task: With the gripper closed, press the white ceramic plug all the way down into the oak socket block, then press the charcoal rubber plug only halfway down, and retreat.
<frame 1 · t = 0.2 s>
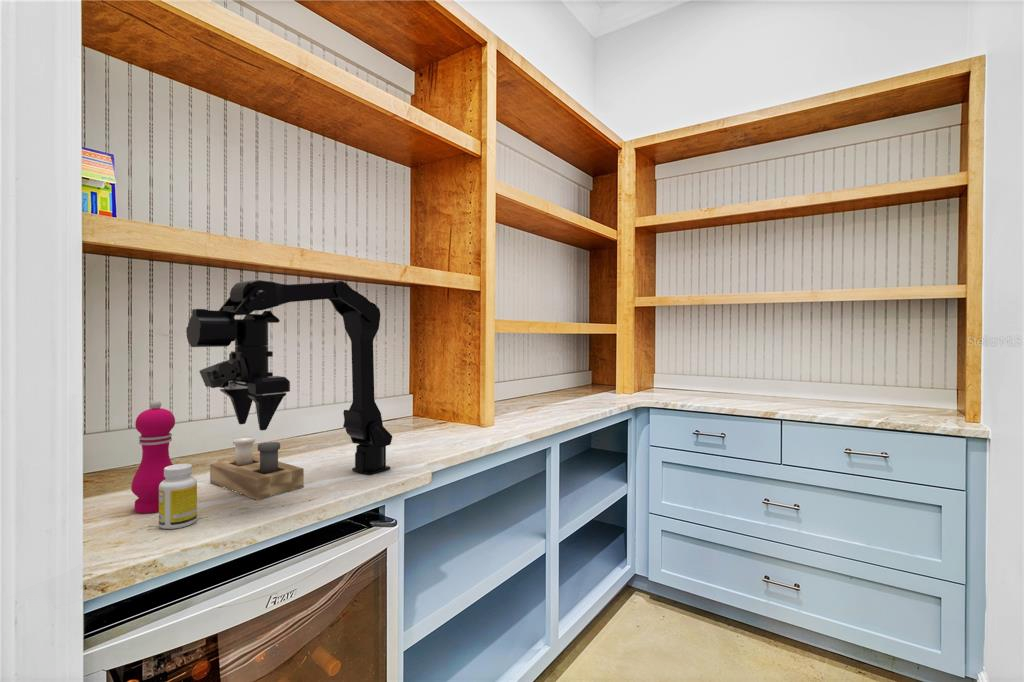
hand: (252, 427, 96), 14 cm above the countertop, tool pointing down, fingers open, 9 cm apart
pepper mill: (155, 508, 92), on the countertop
supplement bottle: (178, 524, 85), on the countertop
white plug: (244, 451, 109), point 6 cm above the countertop, slide at 0.0 cm
charcoal plug: (269, 458, 103), point 6 cm above the countertop, slide at 0.0 cm
oak socket block: (256, 484, 106), on the countertop
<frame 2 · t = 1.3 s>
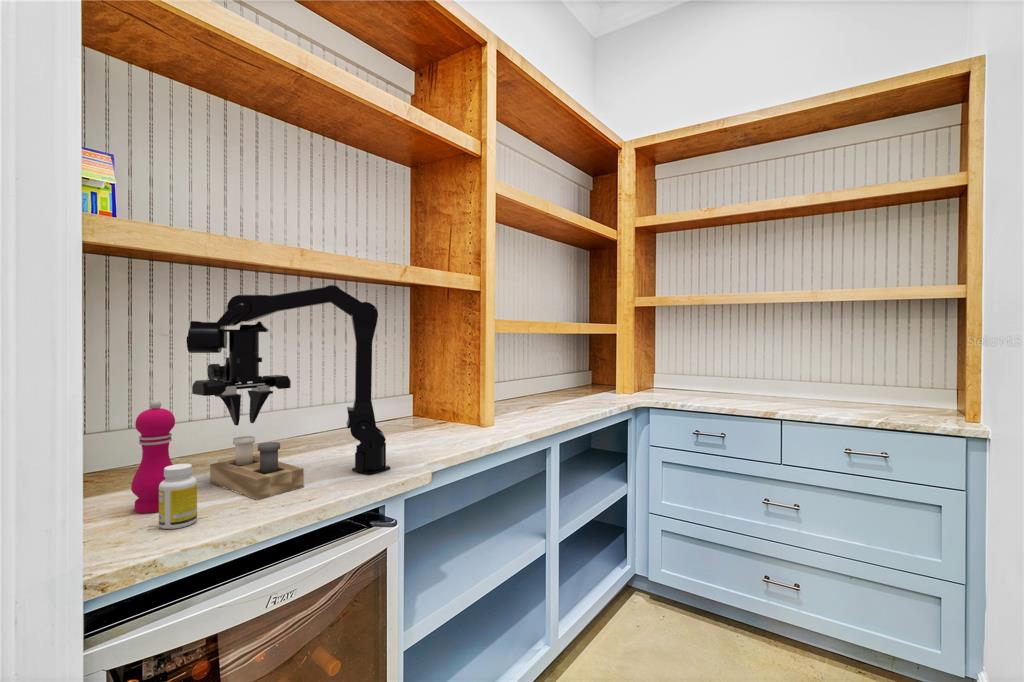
hand: (244, 424, 109), 13 cm above the countertop, tool pointing down, fingers open, 3 cm apart
nothing on the countertop moved.
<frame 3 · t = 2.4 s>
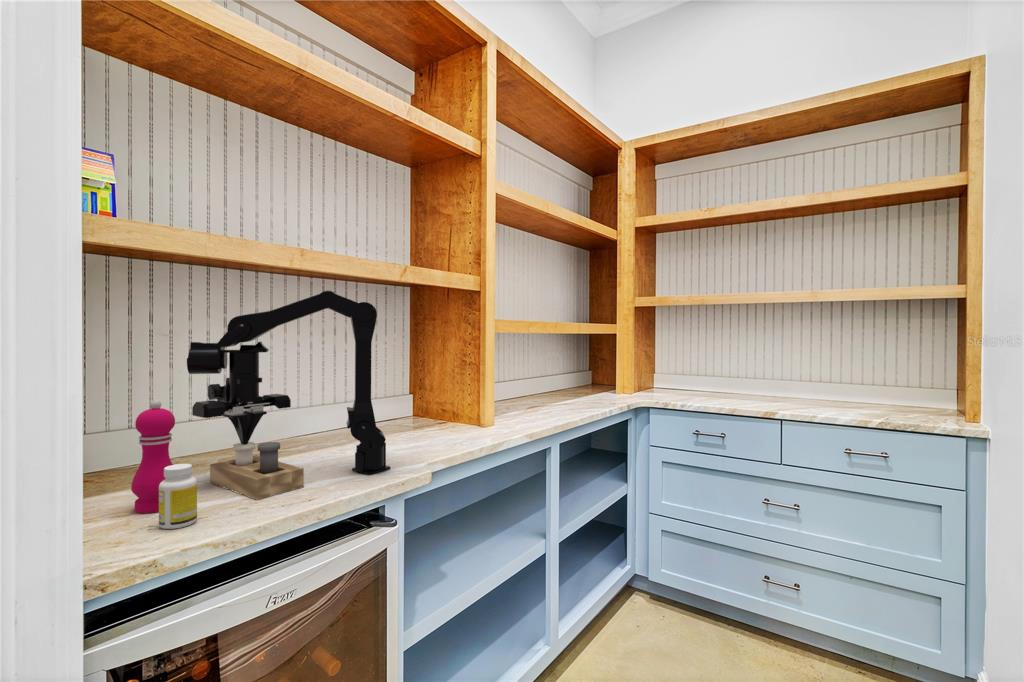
hand: (244, 444, 109), 8 cm above the countertop, tool pointing down, fingers closed, pressing on white plug
white plug: (244, 457, 109), point 5 cm above the countertop, slide at 1.3 cm, touching gripper
everything else where it was.
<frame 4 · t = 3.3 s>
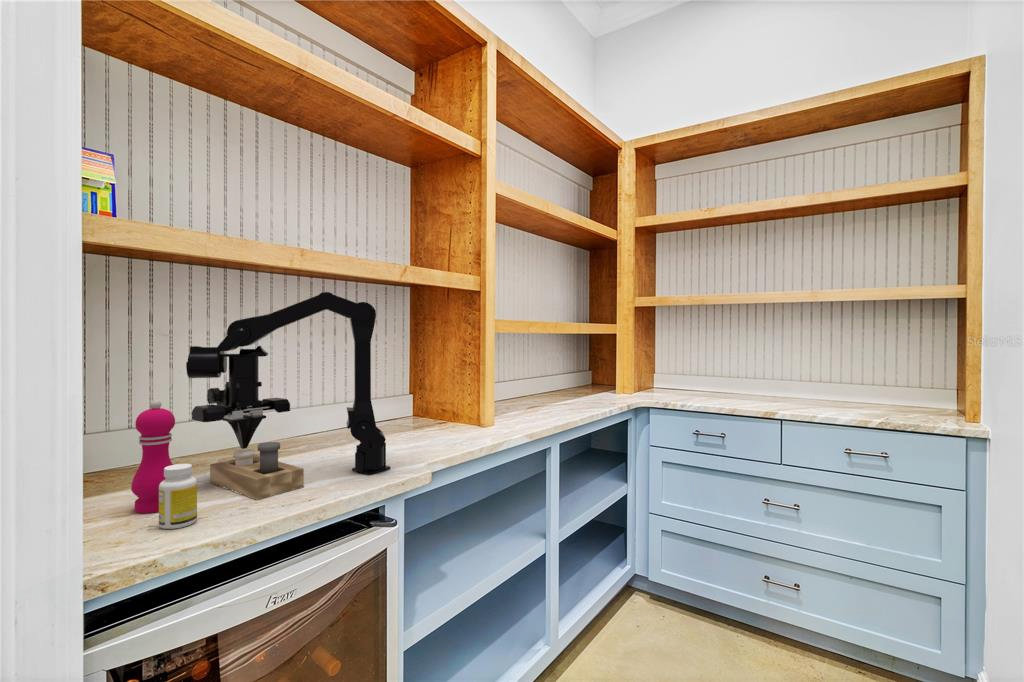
hand: (243, 448, 109), 7 cm above the countertop, tool pointing down, fingers closed
white plug: (244, 464, 109), point 4 cm above the countertop, slide at 2.9 cm
everything else where it was.
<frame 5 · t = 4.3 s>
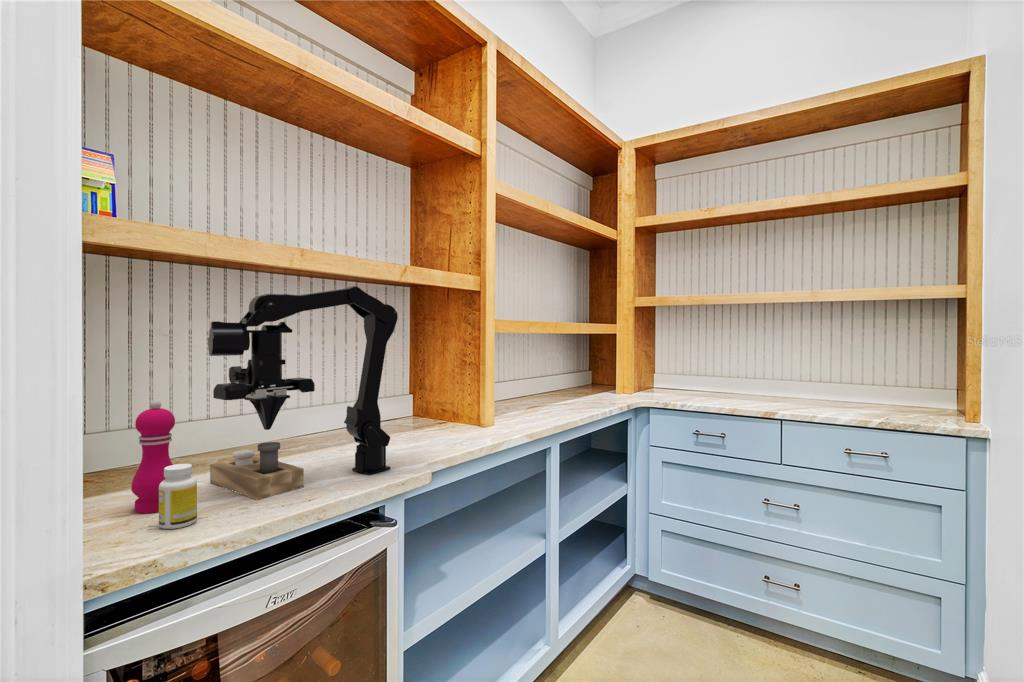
hand: (267, 429, 104), 12 cm above the countertop, tool pointing down, fingers closed
nothing on the countertop moved.
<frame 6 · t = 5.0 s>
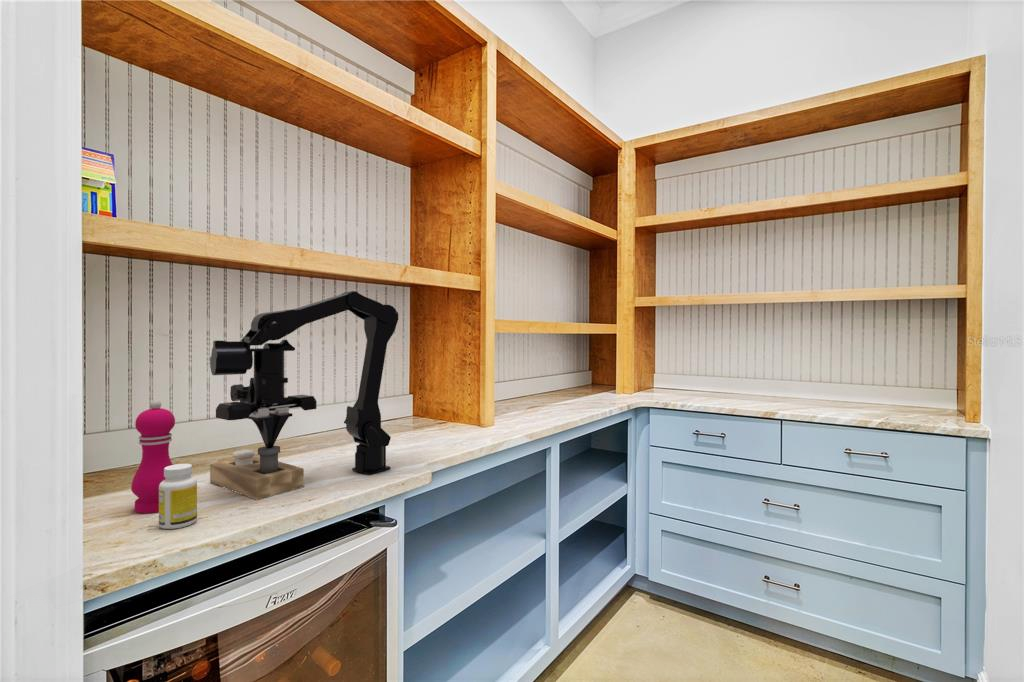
hand: (269, 448, 103), 9 cm above the countertop, tool pointing down, fingers closed, pressing on charcoal plug
charcoal plug: (269, 461, 103), point 6 cm above the countertop, slide at 0.8 cm, touching gripper
everything else where it was.
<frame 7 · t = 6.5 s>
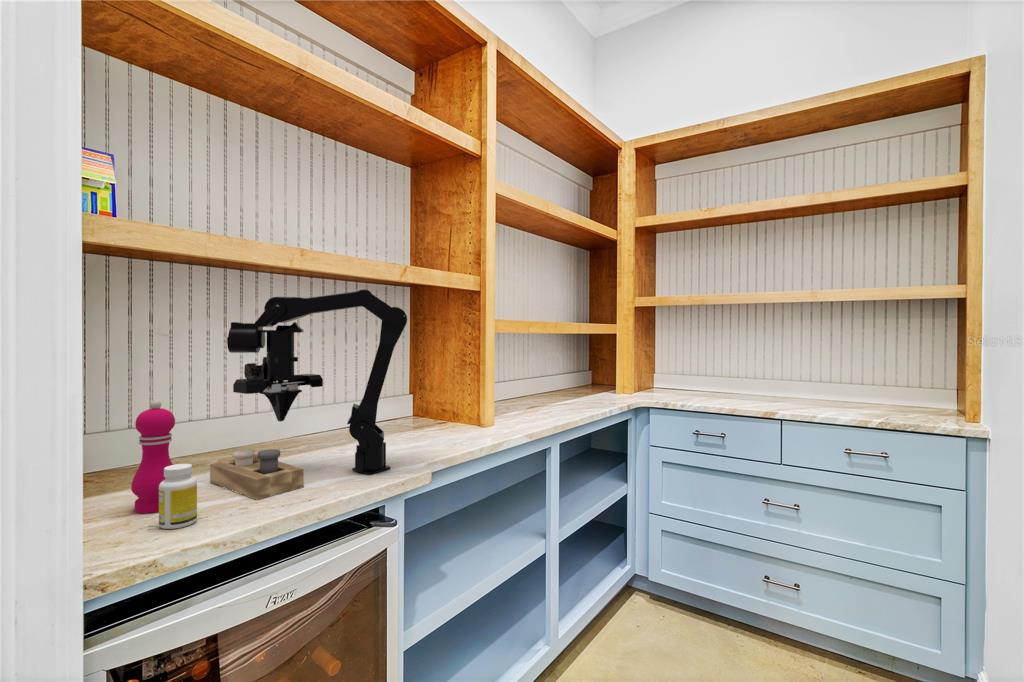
hand: (280, 421, 113), 12 cm above the countertop, tool pointing down, fingers closed
charcoal plug: (269, 465, 103), point 5 cm above the countertop, slide at 1.5 cm
everything else where it was.
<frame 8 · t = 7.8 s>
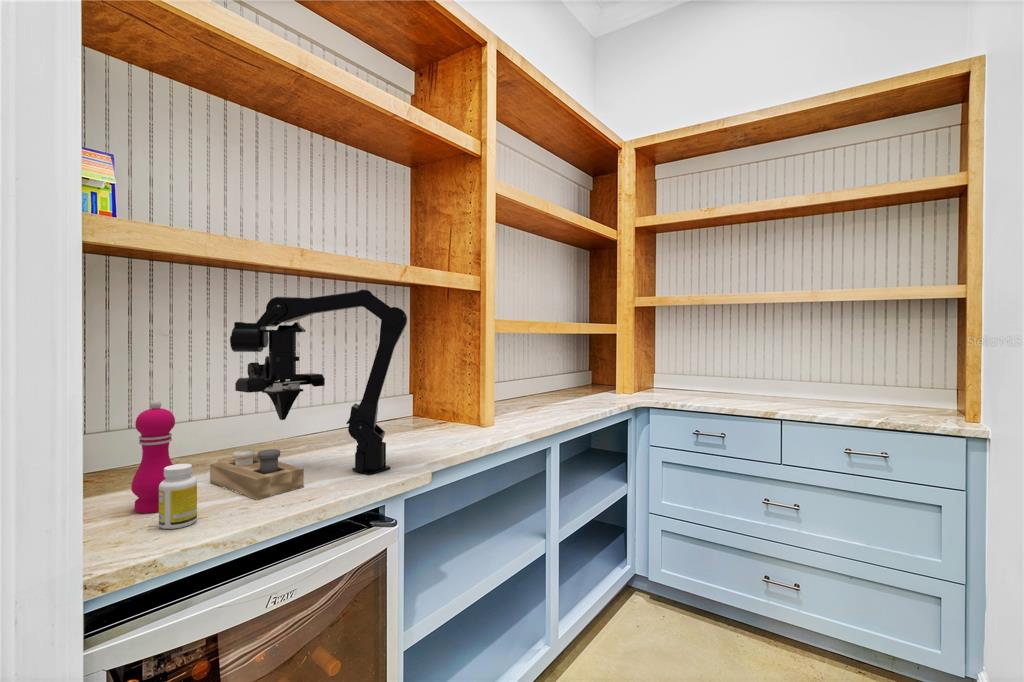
hand: (282, 419, 115), 13 cm above the countertop, tool pointing down, fingers closed
nothing on the countertop moved.
at the end: white plug slide at 2.9 cm; charcoal plug slide at 1.5 cm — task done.
